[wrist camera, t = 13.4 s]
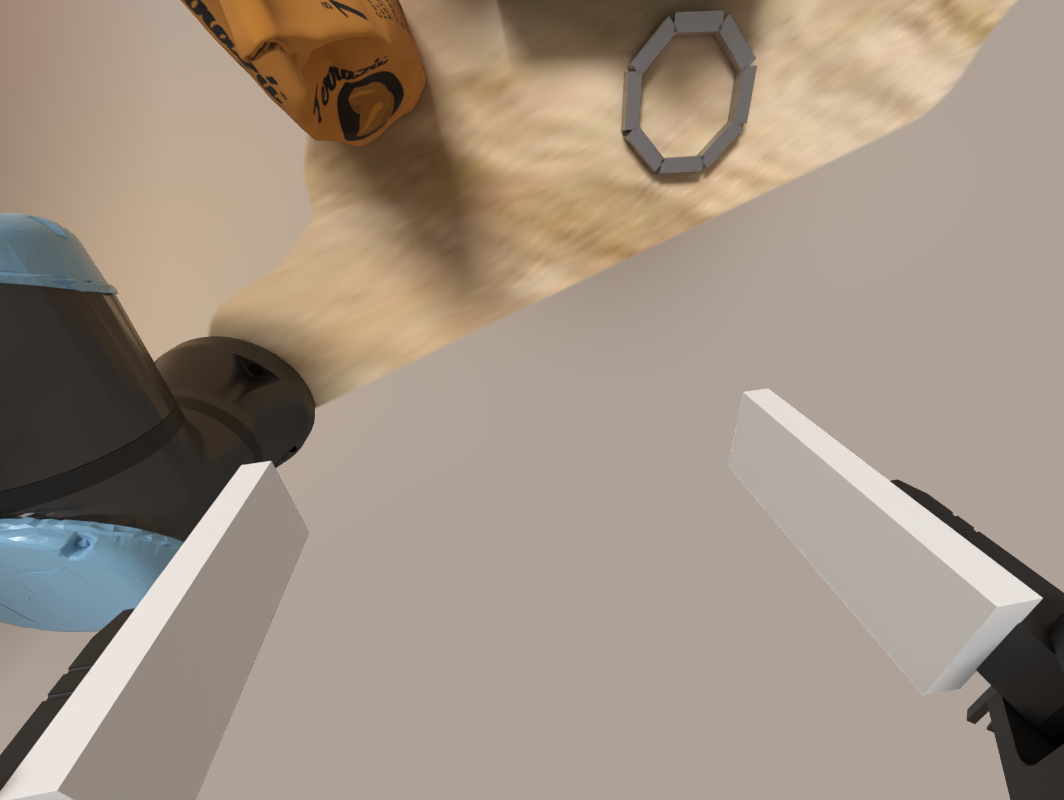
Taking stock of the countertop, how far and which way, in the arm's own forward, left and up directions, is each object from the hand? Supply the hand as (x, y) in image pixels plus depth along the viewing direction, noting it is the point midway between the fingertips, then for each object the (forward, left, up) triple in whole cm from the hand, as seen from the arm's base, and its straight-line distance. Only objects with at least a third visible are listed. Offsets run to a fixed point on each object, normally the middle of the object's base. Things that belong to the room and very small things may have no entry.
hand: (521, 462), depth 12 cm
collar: (+18, +11, -32) cm, 38 cm away
